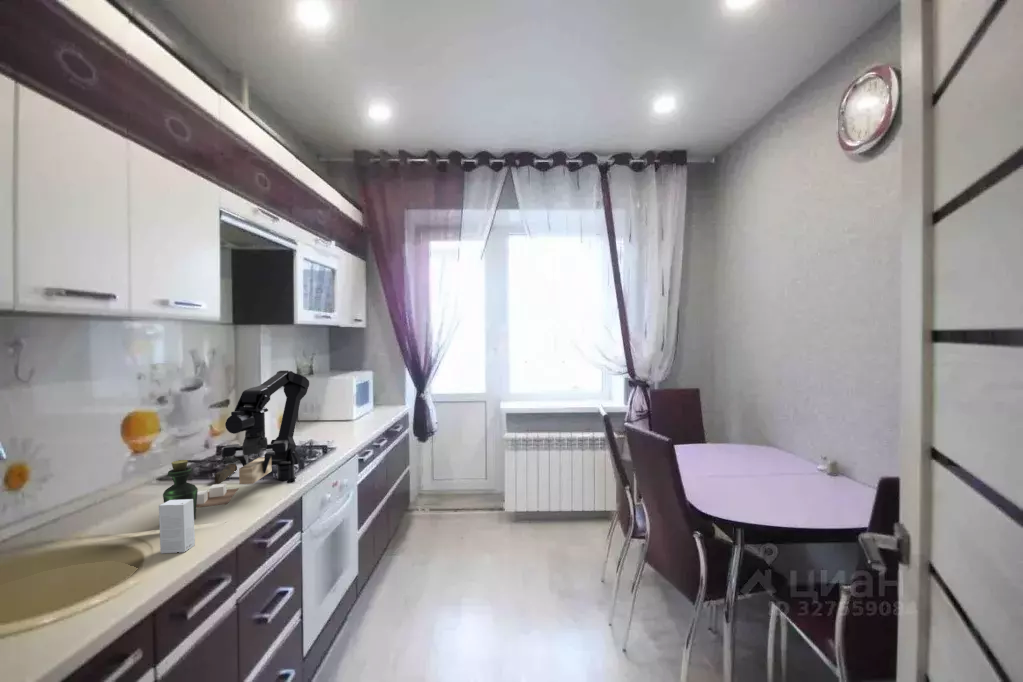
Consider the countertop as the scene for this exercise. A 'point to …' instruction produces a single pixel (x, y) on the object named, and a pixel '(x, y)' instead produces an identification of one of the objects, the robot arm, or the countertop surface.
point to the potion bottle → (181, 484)
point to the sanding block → (253, 471)
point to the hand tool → (225, 473)
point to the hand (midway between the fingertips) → (256, 474)
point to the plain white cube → (217, 490)
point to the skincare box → (176, 526)
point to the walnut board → (219, 499)
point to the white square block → (202, 497)
